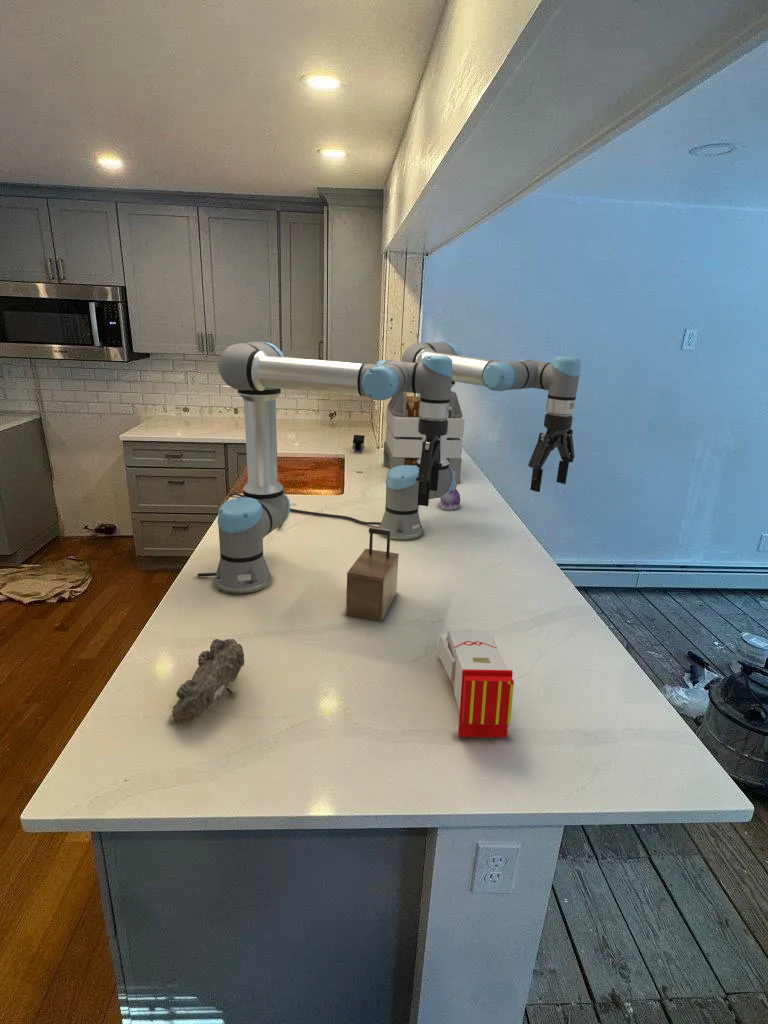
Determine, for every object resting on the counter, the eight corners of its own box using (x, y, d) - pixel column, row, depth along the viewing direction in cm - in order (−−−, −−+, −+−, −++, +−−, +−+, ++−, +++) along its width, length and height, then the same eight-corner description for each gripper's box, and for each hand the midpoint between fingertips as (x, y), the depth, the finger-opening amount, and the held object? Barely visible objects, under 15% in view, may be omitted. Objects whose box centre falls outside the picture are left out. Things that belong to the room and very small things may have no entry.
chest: (363, 588, 160) (364, 553, 156) (396, 593, 158) (398, 558, 154) (346, 615, 146) (346, 577, 142) (381, 621, 144) (383, 583, 140)
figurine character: (364, 456, 306) (364, 446, 320) (364, 442, 303) (365, 433, 317) (351, 455, 306) (352, 446, 320) (352, 442, 303) (353, 433, 316)
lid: (365, 552, 157) (366, 521, 154) (398, 557, 155) (400, 526, 152) (346, 577, 142) (347, 543, 139) (383, 582, 140) (385, 548, 137)
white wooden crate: (382, 463, 289) (386, 382, 275) (445, 464, 293) (451, 384, 279) (390, 482, 257) (394, 392, 243) (460, 483, 261) (468, 394, 247)
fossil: (195, 641, 124) (244, 609, 119) (226, 670, 127) (274, 640, 122) (149, 717, 105) (205, 683, 100) (186, 749, 107) (242, 718, 102)
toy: (488, 613, 130) (523, 677, 101) (484, 667, 133) (517, 744, 104) (435, 612, 130) (455, 676, 101) (432, 666, 133) (451, 743, 103)
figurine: (446, 512, 223) (449, 475, 218) (432, 504, 232) (435, 468, 226) (466, 509, 227) (469, 473, 222) (452, 501, 236) (455, 466, 231)
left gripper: (440, 428, 132) (433, 514, 139) (455, 411, 155) (448, 486, 162) (408, 425, 134) (403, 510, 141) (428, 409, 156) (422, 483, 164)
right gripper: (545, 420, 147) (534, 497, 155) (594, 412, 163) (582, 482, 171) (521, 415, 153) (512, 490, 160) (570, 408, 169) (560, 476, 176)
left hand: (427, 497), depth 151 cm, fingers open, 13 cm apart
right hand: (548, 486), depth 165 cm, fingers open, 13 cm apart
